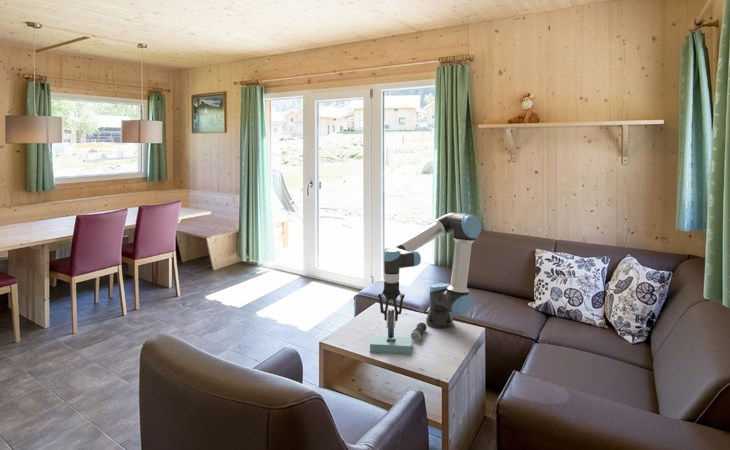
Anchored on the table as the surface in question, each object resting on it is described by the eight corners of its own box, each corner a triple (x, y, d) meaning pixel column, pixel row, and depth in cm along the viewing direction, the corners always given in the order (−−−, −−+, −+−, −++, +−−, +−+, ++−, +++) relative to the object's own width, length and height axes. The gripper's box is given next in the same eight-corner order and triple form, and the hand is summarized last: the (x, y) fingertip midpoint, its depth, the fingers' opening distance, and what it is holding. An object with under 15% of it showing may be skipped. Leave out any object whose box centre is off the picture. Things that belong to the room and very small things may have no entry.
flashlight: (417, 330, 245) (417, 320, 244) (427, 331, 243) (427, 322, 243) (410, 340, 231) (410, 331, 230) (420, 342, 229) (420, 332, 228)
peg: (394, 336, 223) (394, 309, 220) (393, 338, 220) (394, 311, 217) (388, 335, 223) (388, 309, 221) (387, 338, 220) (387, 311, 218)
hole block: (411, 344, 226) (411, 337, 226) (410, 354, 215) (410, 346, 215) (372, 342, 229) (372, 335, 228) (370, 351, 218) (370, 344, 218)
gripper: (408, 279, 219) (407, 324, 223) (376, 278, 221) (375, 323, 225) (407, 283, 212) (406, 330, 216) (374, 282, 214) (374, 328, 218)
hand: (390, 326), depth 220 cm, fingers closed on peg, 3 cm apart
